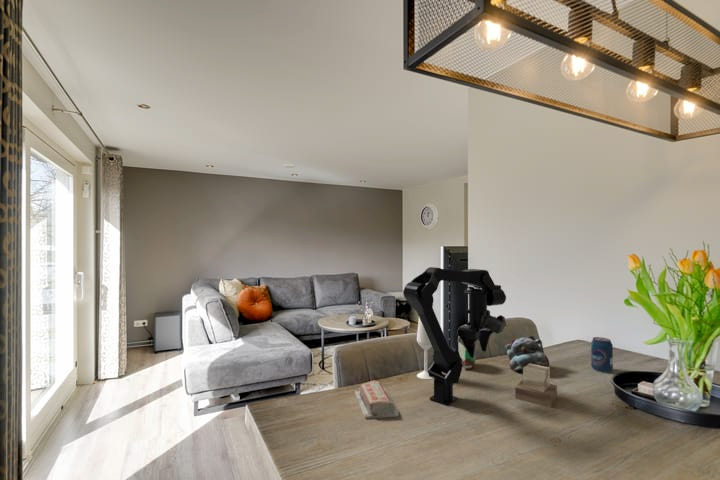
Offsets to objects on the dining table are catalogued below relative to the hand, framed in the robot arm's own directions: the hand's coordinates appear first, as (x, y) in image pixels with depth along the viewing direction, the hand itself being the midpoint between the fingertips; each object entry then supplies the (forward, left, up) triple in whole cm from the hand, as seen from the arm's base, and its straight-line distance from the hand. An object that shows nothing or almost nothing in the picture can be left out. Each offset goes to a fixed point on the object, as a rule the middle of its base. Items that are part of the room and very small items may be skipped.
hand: (478, 354), depth 120 cm
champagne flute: (0, +20, -12) cm, 23 cm away
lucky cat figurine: (+33, -5, -12) cm, 35 cm away
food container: (+21, +13, -12) cm, 28 cm away
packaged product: (-31, +19, -13) cm, 38 cm away
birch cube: (+7, -16, -8) cm, 19 cm away
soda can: (+51, -27, -12) cm, 59 cm away
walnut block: (+7, -16, -12) cm, 22 cm away
